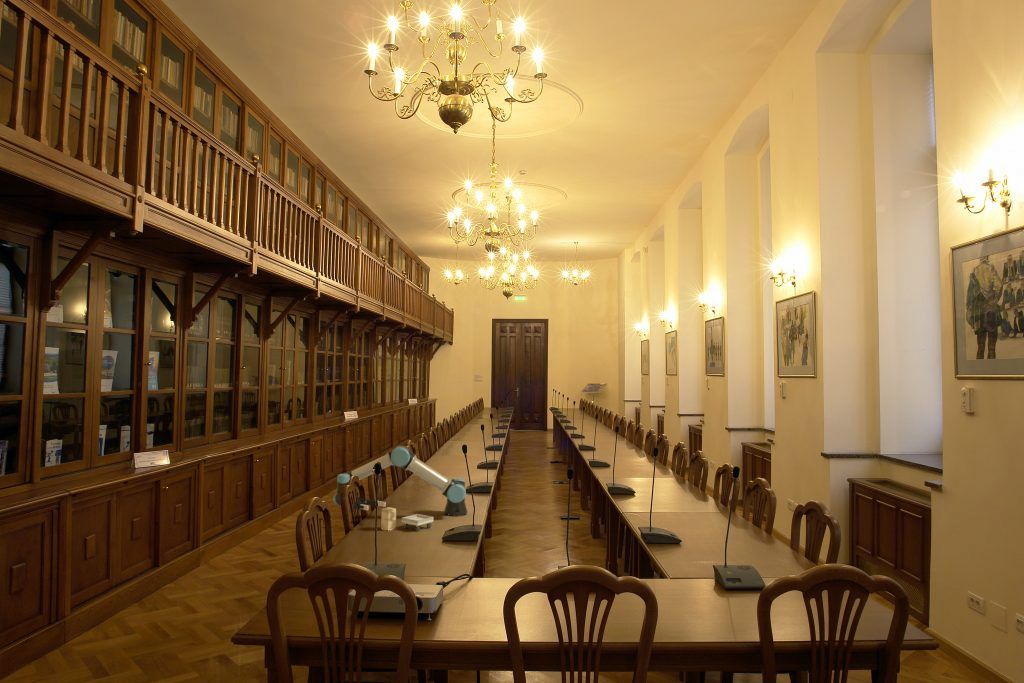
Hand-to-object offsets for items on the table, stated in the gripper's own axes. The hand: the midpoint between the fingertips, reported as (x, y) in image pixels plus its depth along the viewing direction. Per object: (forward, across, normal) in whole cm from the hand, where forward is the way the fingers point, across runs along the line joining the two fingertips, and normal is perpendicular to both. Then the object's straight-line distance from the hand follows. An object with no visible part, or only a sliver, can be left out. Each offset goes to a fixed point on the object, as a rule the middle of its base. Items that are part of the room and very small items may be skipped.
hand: (376, 506), depth 398 cm
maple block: (+10, 0, -12) cm, 16 cm away
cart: (+22, -12, -12) cm, 28 cm away
